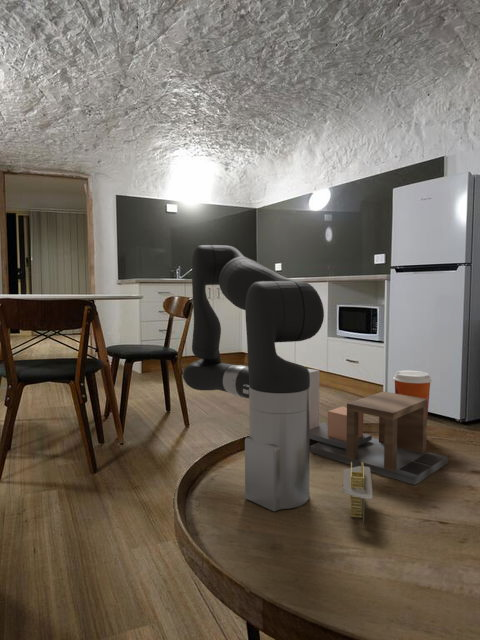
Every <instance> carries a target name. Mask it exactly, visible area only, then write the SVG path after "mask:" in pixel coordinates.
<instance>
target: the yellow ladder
mask: <svg viewBox="0 0 480 640" xmlns="http://www.w3.org/2000/svg"><path fill="white" fill-rule="evenodd" d="M371 472H372V471H370V467H365V466H362V462H361V466H358V467H356V466H353V465H352V462H351V465H350V467H349V468H345V469H343V484H342V492H344V494H347V495H349V496H350V517H351V518H359V519H361V518H362V524H363V525H364V524H365V499H368V500H371V499H373V484H372V474H371Z"/></svg>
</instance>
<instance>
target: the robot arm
mask: <svg viewBox="0 0 480 640" xmlns="http://www.w3.org/2000/svg"><path fill="white" fill-rule="evenodd" d="M192 253H193V254H192V259H191V284H192V286H191V287H192V289H191V290H192V311H193V330H192V332H193V333H192V343H191V351H192V354H193V355H194V356H195V357H196V358H198V359H197V360H195V361H193V362H191V363H189V364H188V365H186V366H185V368H184V369H183V372H182V373H183V374H182V377H183V378H182V379H183V380H184V382H185V383H186V385H187V386H188V387H190V388H191V389H193V390H196V391H221V392H225V393H228V394H231V395H233V396H237V397H240V398H244V399H247V400H248V401H249V403H248V404H249V406H248V409H249V410H248V412H249V414H248V417H249V420H248V421H249V422H248V423H249V425H248V426H249V428H248V429H249V435H248V436H247V437H245V439H244V474H245V475H244V491H245V493H244V497H245V499H246V500H249V501H251V502H253V503H255V504H257V505H260V506H261V507H264V508H266V509H268V510H269V511H272V512H278V511H279V510H284V509H287V510H288V509H293V508H298V507H301V506H303V505H304V504H306V503H307V502H308V500H309V499H310V446H311V445H310V442H311V441H310V440H311V439H310V374H309V371H308V369H309V368H307V367H305V366H304V365H301V364H299V363H295V362H292V361H289V360H286V359H284V358H282V357H281V356H279V355H278V353H277V351H276V350H277V349H276V343H293V342H303V341H306V340H309V339H312V338H313V337H314V336H316V335H317V333H318V332H319V331H320V329H322V325H323V323H324V318H325V311H324V304H323V301H322V299H321V297H320V294H319V293H318V291H317V290H316V288H315V287H314V286H313V285H311V284H310V283H308V282H306V281H302V280H297V279H293V278H289V277H286V276H284V275H281V274H279V273H278V272H276V271H274V270H272V269H270V268H269V267H266V266H264V265H263V264H261V263H259V262H258V261H256V260H254V259H251V258H249V257H247V256H244V255H243V253H242V252H241V251H240V250H238V249H237V248H236V247H234V246H231V245H227V244H226V245H224V244H223V245H222V244H221V245H220V244H219V245H218V244H213V245H212V244H211V245H210V244H202V245H198V246H196V247H195V249H194V250H193V252H192ZM206 286H219V289H220V291H221V293H222V295H223V296H224V297H225V299H226V300H228V301H229V302H231V304H233V306H235V307H237V308H238V309H241V310H244V312H245V328H246V329H245V330H246V346H247V348H246V349H247V365H241V364H238V365H237V364H231V363H223V362H222V359H221V354H220V344H221V343H220V342H221V335H222V328H221V322H220V319H219V317H218V315H217V314H216V312H215V310H214V308H213V307H212V306H211V304H210V302H209V299H208V297H207V291H206Z"/></svg>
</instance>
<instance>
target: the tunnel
mask: <svg viewBox="0 0 480 640" xmlns="http://www.w3.org/2000/svg"><path fill="white" fill-rule="evenodd" d="M346 407H347V445H346V449H344V448H340V447H337V446H333V445H330V444H326V443H323V442H319V441H318V442H317V443H314V444H311V445H310V448H309V453H311V454H315V455H319V456H322V457H325V458H327V459H331V460H334V461H337V462H340V463H343V464H347V465H350V466H351V462H352V467H358V466H361V462H362V466H365V467H370V472H373V473H375V474H379V475H382V476H385V477H387V478H391V479H395V480H397V481H400V482H404V483H407V484H410V485H413V486H415V485H417V484H418V483H420V482H422V481H423V480H425V479H426V478H428V477H429V476H431V475H432V474H434V473H435V472H437V471H439V469H442V468H443V467H444V466H446V465H447V464H448V463H449V459H448V458H449V457H448V456H446V455H442V454H438V453H434V452H430V451H427V440H428V439H427V438H428V437H427V436H428V435H427V434H428V431H427V429H428V425H427V424H428V416H427V399H424V398H418V397H412V396H406V395H401V394H395V392H388V391H381V392H378V393H377V392H376V393H374V394H371V395H368V396H365V397H362V398H359V399H356V400H353V401H349V402H346ZM359 413H364V415H369V416H373V417H378V438H375V437H372V440H371V441H368V442H366V443H364V444H362V445H360V446H358V417H359Z"/></svg>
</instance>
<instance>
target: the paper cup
mask: <svg viewBox="0 0 480 640" xmlns="http://www.w3.org/2000/svg"><path fill="white" fill-rule="evenodd" d="M392 379H393V380H394V393H395V394H401V395H406V396H412V397H418V398H424V399H427V417H428V414H429V405H430V404H429V403H430V391H431V382H433V381H434V380H433V379H432V376H431V375H430V373H429V372H425V371H420V370H408V369H407V370H398V371H395V374H394V376H393V378H392Z"/></svg>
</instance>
